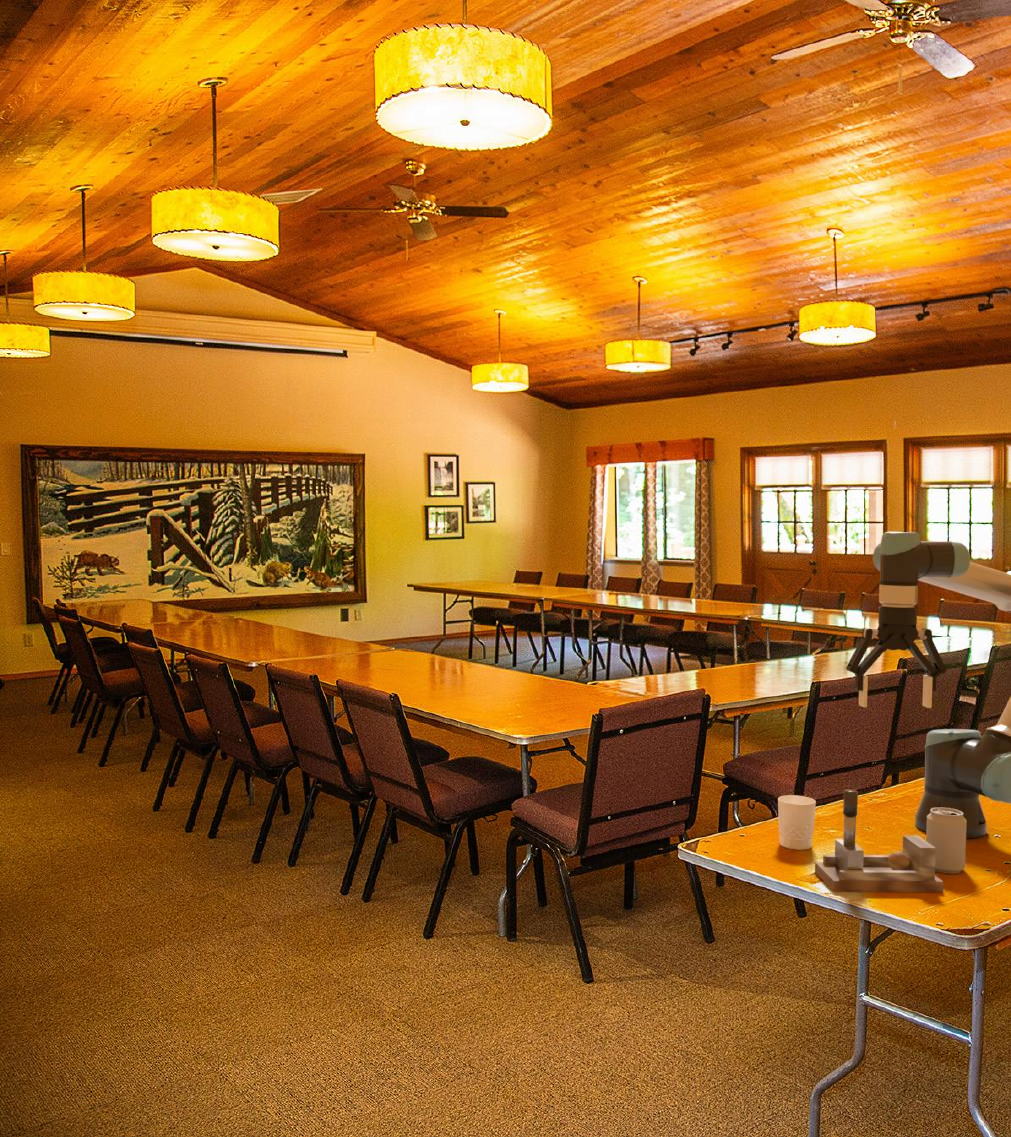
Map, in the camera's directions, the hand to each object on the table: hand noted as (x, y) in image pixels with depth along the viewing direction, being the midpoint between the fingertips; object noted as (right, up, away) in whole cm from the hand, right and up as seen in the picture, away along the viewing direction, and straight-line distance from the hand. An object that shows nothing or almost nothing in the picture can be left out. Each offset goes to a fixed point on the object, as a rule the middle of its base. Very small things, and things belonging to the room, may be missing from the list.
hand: (894, 706), depth 217 cm
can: (+8, -32, -6) cm, 34 cm away
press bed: (-9, -32, -15) cm, 37 cm away
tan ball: (-5, -30, -15) cm, 34 cm away
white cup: (-19, -31, +8) cm, 37 cm away
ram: (-15, -30, -15) cm, 37 cm away
